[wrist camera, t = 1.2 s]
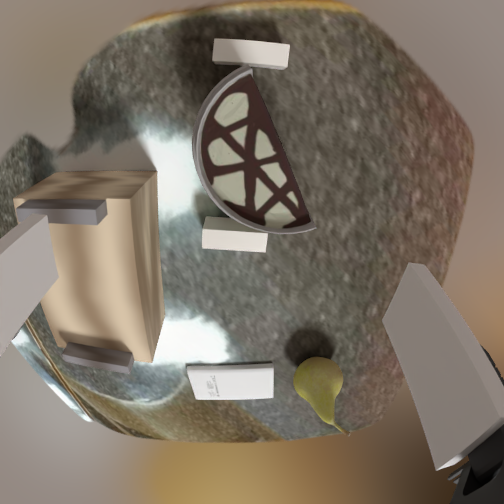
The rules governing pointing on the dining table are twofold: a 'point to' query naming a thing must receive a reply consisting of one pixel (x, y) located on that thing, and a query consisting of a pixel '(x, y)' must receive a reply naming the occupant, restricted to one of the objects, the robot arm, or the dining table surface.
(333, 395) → the fruit
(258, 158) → the food container
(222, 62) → the pair of white blocks
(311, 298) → the dining table surface
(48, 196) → the wooden stand
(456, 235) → the dining table surface
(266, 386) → the external hard drive
